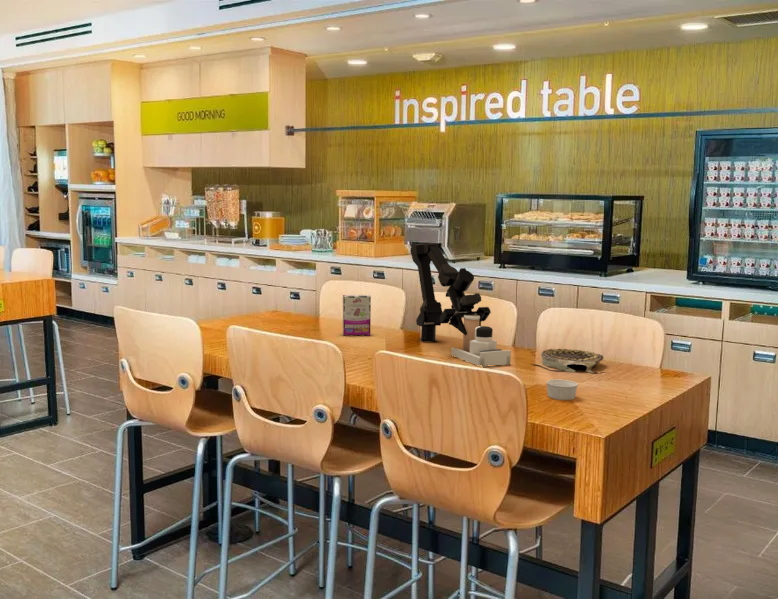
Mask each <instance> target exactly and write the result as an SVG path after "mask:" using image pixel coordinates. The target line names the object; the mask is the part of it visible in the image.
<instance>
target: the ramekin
mask: <svg viewBox="0 0 778 599" xmlns="http://www.w3.org/2000/svg"><path fill="white" fill-rule="evenodd" d="M578 386H579V384H578V383H577V381H573V380H569V379H568V380H567V379H559V378H555V379H549V380H546V388H547V389H546V391H547V393H546V394H547V396H548V398H551V399H553V400H558V401H559V400H560V401H570V400H574V399H576V395H577V390H578V389H577V388H578Z"/></svg>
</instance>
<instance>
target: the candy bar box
mask: <svg viewBox="0 0 778 599" xmlns="http://www.w3.org/2000/svg"><path fill="white" fill-rule="evenodd" d="M371 305H372V303H371V295H370V294H344V295H343V294H342V335H343V336H344V335H365V336H366V335H367V336H366V337H370V336H371V326H372V325H371V322H372V320H371V314H372V313H371V310H372V309H371V308H372V307H371ZM365 336H364V337H365Z"/></svg>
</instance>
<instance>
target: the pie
mask: <svg viewBox="0 0 778 599" xmlns="http://www.w3.org/2000/svg"><path fill="white" fill-rule="evenodd" d="M540 355H541V356H540V357H541V359H542V362H541V363H542V366H544V367H545V366H546V367H545V369H547V370H548V368H551V369H550V371H551V372H566V373H577V371H576V370H575V369H573V368H571V367H569V366H568V365H576V366H577V365H583V366H585V367H586V369H585V373H588V374H593V373H594V374H598V372H596V371H593V370H592V369H593V368H594V367H593V366H596V365H598V364H599V363H600V362H601V361H603V360H604V355H603V354H600V353H595V352H593V351H592V352H591V351H588V350H582V349H571V348H570V349H569V348H549V349H545V350H542V351H541V354H540ZM533 365H535V366H537V364H535V363H534V364H533ZM538 366H541V364H538ZM592 367H593V368H592Z"/></svg>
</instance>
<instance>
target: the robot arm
mask: <svg viewBox="0 0 778 599" xmlns="http://www.w3.org/2000/svg"><path fill="white" fill-rule="evenodd" d="M439 245H440V244H438V243H434V242H433V243H431V242H429V243H428V242H427V243H413V245H412V246H411V247H410V250H409V252H410V255H411V260H412V261H413V263H414V264H415V266H417V271H418V278H419V283H420V291H421V297H422V302H421V304H420V305H421V306H420V308H419V314H418V316H417V318H416V319H415V322H416V326H419V327H420V328H421V330H420V331H421V332H420V337H419V341H420V340H421V341H437V342H438V340H437V338H436V333H437V330H436V329H437V327H438V326H440V327H441V325H442V324H443V325H444V324H448V325H449V326H450V325H451V326H452V327H454V328H455V329H456V330H458V331H460V332H461V333H462V334H464V335H466V334H467V332H466V329H465V326H464V321H463V319H464V315H468V314H472V315H479V316H480V319H479V326H482V322H484V321H486V320H487V319H488V317H489V316H490V314H492V312H491V310H490V307H489V306H478V308H477V309H476V310H475V311H473V310H474V309H475V306H476V305H478V304H479V303H480V302H482V296H481V294H480V293H479V292H477V293H474V294H465V292H467V291H468V290H469V288H470V287H471V285H472V283H473V282H474V280H475V276H474V274H473V273H472V272H470V271H469V270H467V269H466V268H465V267H461V268H459V270H457V269H456V267H454V266H452V265H450V264H449V262H448V261H447V259H446V257H445V256H444V254H443V252H442V251H441V249H440V246H439ZM431 262H432V264H433V266H434V267H435V268H436V271H437V273H438V276H437V279H438V281H439V284H440V285H441V287H445V288H447V287H448V288H447V289H446V293H445V298H449V300H450V302H451V306H450V307H451V308H444V309H442V304H441V301H440V302H439V301H437V300H436V294H435V288H434V284H433V276H432V269H431ZM421 341H420V342H421Z"/></svg>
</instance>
